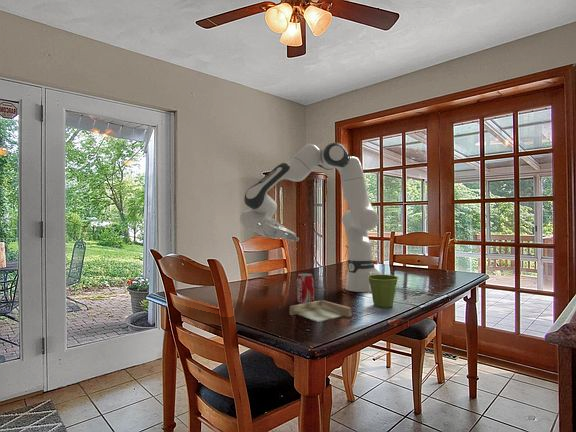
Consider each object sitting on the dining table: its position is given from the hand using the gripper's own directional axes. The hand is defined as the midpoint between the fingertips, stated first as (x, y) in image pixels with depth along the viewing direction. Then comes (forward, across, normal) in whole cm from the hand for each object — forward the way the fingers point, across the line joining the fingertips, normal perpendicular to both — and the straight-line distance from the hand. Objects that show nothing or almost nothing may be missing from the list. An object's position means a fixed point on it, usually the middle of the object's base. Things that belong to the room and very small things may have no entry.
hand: (292, 237), depth 150 cm
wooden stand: (+29, -9, +21) cm, 37 cm away
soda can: (+16, +2, +23) cm, 28 cm away
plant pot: (+42, +15, +12) cm, 46 cm away
